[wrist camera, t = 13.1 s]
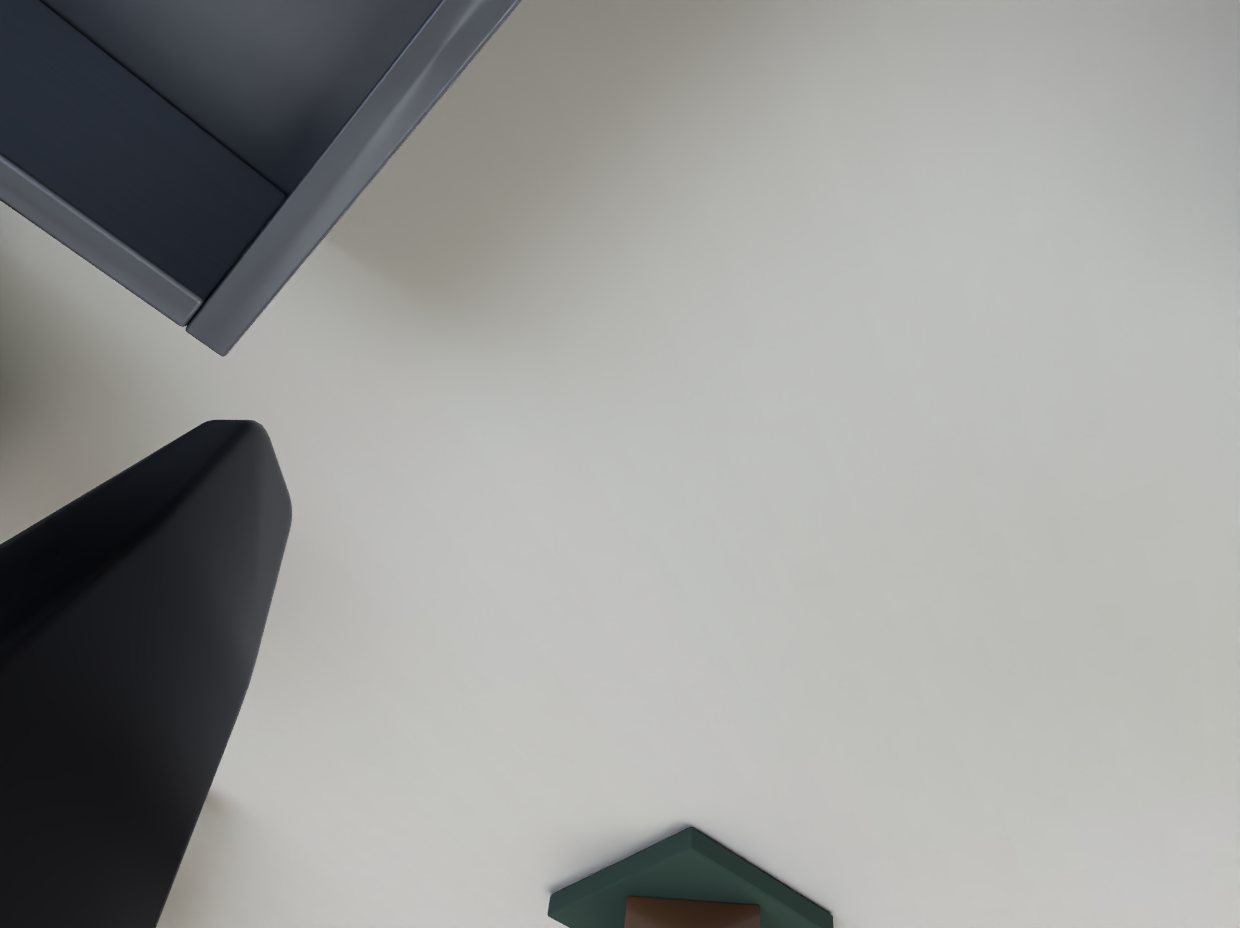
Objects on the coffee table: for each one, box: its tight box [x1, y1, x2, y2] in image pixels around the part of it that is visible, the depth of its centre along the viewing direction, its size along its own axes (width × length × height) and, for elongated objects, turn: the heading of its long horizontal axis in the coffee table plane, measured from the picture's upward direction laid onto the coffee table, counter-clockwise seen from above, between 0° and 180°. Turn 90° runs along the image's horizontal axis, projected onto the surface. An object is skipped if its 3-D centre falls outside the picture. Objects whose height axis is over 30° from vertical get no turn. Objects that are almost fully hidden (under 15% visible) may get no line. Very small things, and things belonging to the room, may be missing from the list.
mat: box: [548, 828, 833, 928], centre depth 35 cm, size 7×7×1 cm
